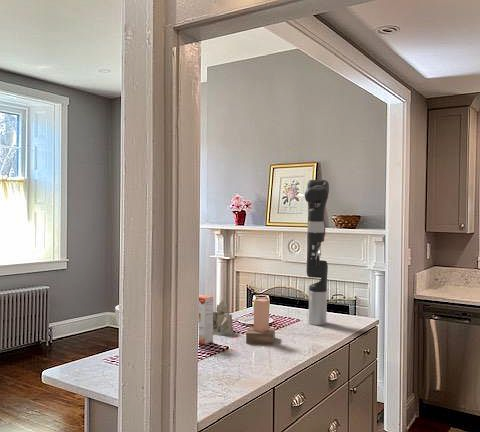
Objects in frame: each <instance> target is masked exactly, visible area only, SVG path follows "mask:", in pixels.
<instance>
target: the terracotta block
mask: <svg viewBox="0 0 480 432" xmlns="http://www.w3.org/2000/svg"><path fill="white" fill-rule="evenodd" d="M253 301H254V302H253V327H254V328H253V330H255V331H259V332H265V331H268V330H269V328H270V299H266V298H262V297H261V298H256V299H254V300H253Z"/></svg>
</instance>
